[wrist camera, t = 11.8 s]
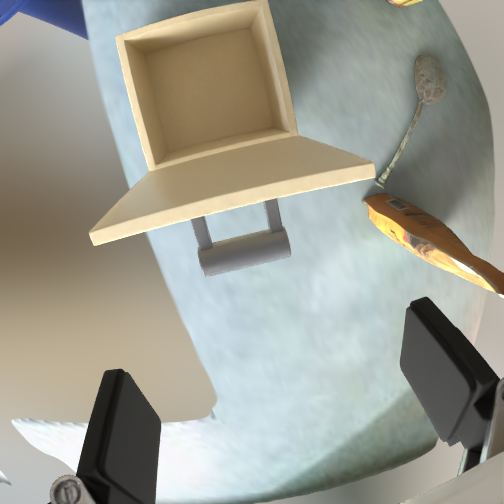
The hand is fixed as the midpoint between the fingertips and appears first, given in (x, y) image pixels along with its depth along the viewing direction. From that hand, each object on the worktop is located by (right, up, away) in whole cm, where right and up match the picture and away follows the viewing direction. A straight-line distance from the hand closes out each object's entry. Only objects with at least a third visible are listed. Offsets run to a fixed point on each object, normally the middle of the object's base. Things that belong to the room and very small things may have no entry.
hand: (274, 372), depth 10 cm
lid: (-3, +10, +12) cm, 15 cm away
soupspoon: (+21, +23, +28) cm, 42 cm away
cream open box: (-6, +23, +25) cm, 35 cm away
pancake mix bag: (+22, +9, +35) cm, 43 cm away
